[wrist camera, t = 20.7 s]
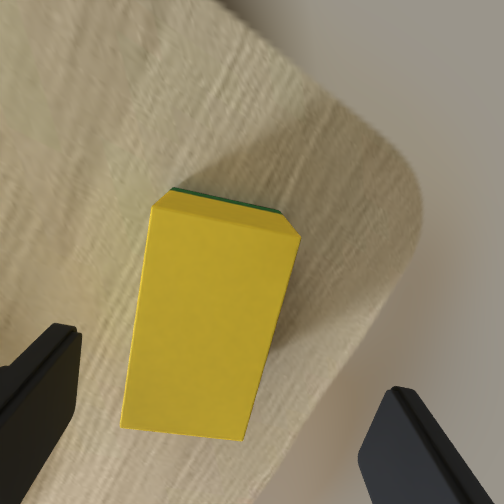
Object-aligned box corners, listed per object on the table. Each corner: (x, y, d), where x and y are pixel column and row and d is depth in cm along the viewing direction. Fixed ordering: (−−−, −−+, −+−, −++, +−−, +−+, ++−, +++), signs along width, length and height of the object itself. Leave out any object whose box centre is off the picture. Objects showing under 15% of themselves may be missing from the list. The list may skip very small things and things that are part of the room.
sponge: (172, 186, 15) (151, 205, 10) (280, 210, 15) (302, 236, 11) (145, 356, 17) (118, 428, 13) (238, 370, 18) (243, 442, 14)
